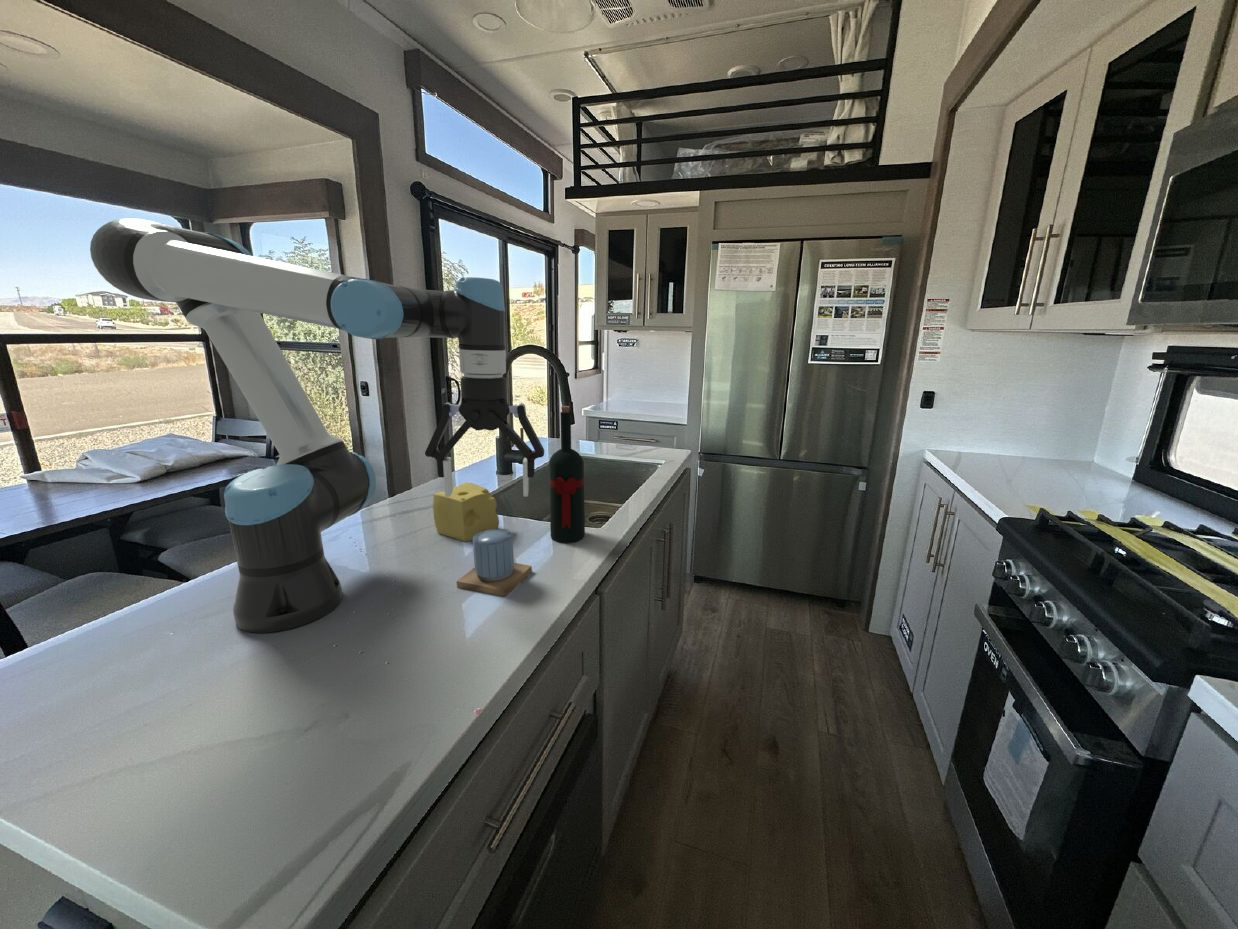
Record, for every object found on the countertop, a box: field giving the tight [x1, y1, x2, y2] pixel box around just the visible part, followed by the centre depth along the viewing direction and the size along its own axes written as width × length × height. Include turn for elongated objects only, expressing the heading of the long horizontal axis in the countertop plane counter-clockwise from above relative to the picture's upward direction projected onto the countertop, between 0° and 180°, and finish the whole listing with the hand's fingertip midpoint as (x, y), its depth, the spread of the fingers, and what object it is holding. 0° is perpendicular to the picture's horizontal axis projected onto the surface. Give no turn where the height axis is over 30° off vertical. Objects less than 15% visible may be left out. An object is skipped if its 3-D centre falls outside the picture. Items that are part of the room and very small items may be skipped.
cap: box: [472, 528, 515, 578], centre depth 91 cm, size 7×7×6 cm
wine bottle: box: [548, 405, 586, 544], centre depth 107 cm, size 8×10×30 cm
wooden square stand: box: [456, 562, 533, 597], centre depth 92 cm, size 10×10×7 cm
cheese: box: [432, 481, 500, 542], centre depth 114 cm, size 10×11×10 cm
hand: (487, 494), depth 88 cm, fingers open, 13 cm apart
